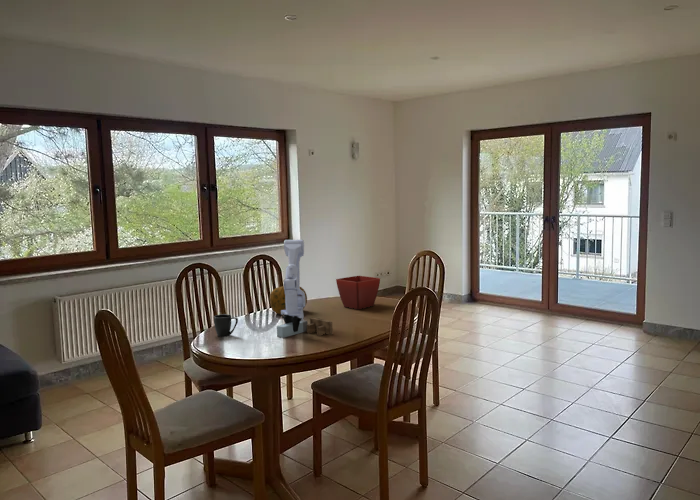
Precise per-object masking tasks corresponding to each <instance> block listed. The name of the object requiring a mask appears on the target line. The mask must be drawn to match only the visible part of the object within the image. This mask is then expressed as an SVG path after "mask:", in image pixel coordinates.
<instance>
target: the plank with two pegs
mask: <svg viewBox="0 0 700 500" xmlns="http://www.w3.org/2000/svg"><path fill="white" fill-rule="evenodd" d="M316 331H317V332H316ZM312 332H313V333H316V335H317V336H319V337H320V336H323V334H324V335H333V332H334V331H333V321H331V320H326V319H320V318H315V317H310V318H309V324H308V325H307V331H306V334H312ZM325 333H326V334H325Z"/></svg>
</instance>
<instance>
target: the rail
mask: <svg viewBox="0 0 700 500" xmlns="http://www.w3.org/2000/svg"><path fill="white" fill-rule="evenodd" d="M307 325H308V320H305V319H303V320H301V321H300V324H299V328H298V331H297V332H294V331H293V324H292V322H291V323H287V324H285V323H282V324H280V325H277V326H276V335H277V337H278V338H281V339H283V338H287V337H291V336H295V335H297V334H301V333H305V332H306V333H307Z"/></svg>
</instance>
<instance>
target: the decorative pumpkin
mask: <svg viewBox="0 0 700 500" xmlns="http://www.w3.org/2000/svg"><path fill="white" fill-rule="evenodd" d="M284 280H285V279H283V283H284ZM300 289H301V290H302V291H303V292H304V293H305V299H306V304H305V307H306V306H307V303H308V295H307V292H306V290H305V289H304V288H303V287H302V286H300ZM297 296H298V295H297ZM269 304H270V307H271V310H272V311H273V312H274V313H275V314H278V315H283V316H284V314H281V310H286V303H285V291H284V285H283V286H278V287H276V288H274V289H273V290H272V291H271V292H270V294H269ZM305 307H303V310H304V309H305Z"/></svg>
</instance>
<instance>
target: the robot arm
mask: <svg viewBox="0 0 700 500" xmlns="http://www.w3.org/2000/svg"><path fill="white" fill-rule="evenodd" d="M283 249H284V252H285V256H286V257H288V265H287V266H286V268H285V280H284V279H283V280H284V282H283V286H284V291H285V303H286V310H281V314H280V315H282V314H284V315H283V316H282V317H281V318H282V319H283V321H284V324H287V323H291V322H292V324H293V331H294V332H297V331H298V328H299V324H300V321H301V320H304V317H305V315H304V309H303V307H304V308H305V307H306V306H305V304H306V305H307V303H306V299H305V293H304V292H303V291H302V290H301V289H300V287H301V286H300V284H301V283H300V279H301V278H300V275H301V273H300V271H301V270H300V268H301V267H300V266H301V265H300V260H301V258H302V257H304V254H305V242H304V239H285V240H284V241H283ZM297 295H298V296H297Z"/></svg>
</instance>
